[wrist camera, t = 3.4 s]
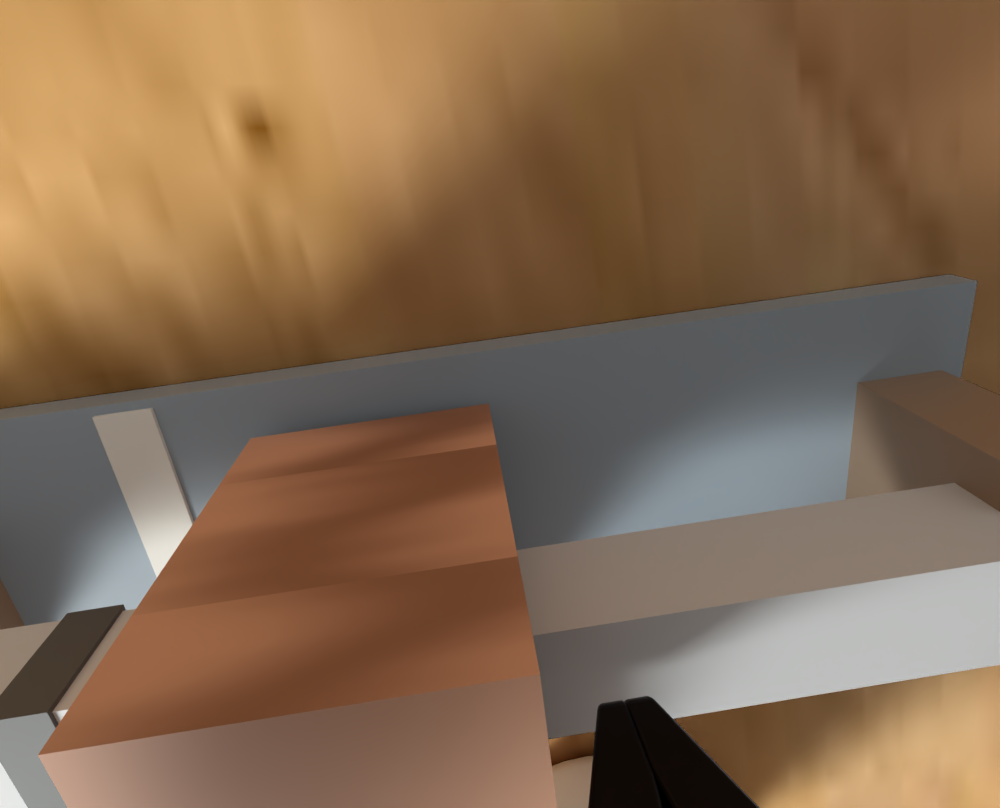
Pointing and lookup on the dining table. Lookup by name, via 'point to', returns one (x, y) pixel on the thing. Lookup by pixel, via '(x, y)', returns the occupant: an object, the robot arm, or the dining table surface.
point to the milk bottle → (573, 782)
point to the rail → (581, 502)
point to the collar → (327, 639)
